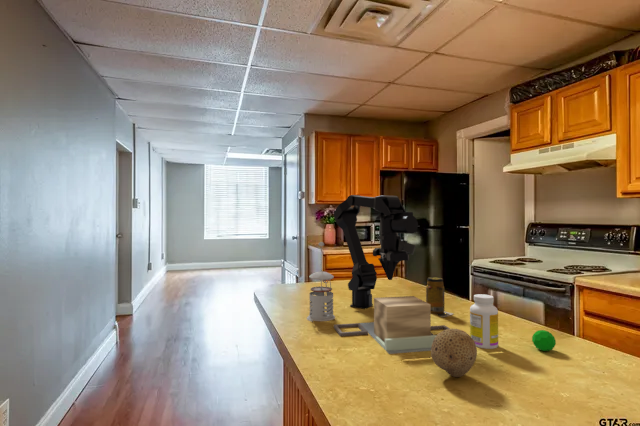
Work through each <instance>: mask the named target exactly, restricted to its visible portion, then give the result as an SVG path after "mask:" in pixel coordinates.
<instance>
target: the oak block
mask: <svg viewBox="0 0 640 426" xmlns="http://www.w3.org/2000/svg"><path fill="white" fill-rule="evenodd" d="M431 314H432V313H431V304H429V303H427V302H426V300H425V301H424V300H422V299H420V298H418V297H416V296H415V295H409V296H408V295H407V296H389V297H387V296H386V297H374V298H373V322H374V334H375V335H376V336H377V337H379V338H380V339H381V340H382V341H383V342H384V343H385V339H388V338H402V337H417V336H431V333H432V332H431V331H432V330H431V326H432V323H431V321H432V320H431V316H432V315H431Z"/></svg>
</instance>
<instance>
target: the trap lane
mask: <svg viewBox="0 0 640 426" xmlns="http://www.w3.org/2000/svg"><path fill="white" fill-rule="evenodd" d="M345 328H347V329H348V328H358V329H359V330H356V331H342V330H341V329H345ZM333 329H334V330H335V332H336V333H337V334H338V335H339V337H349V336H363V335H364V336H366V335H368V334H369V336H370V337H371V338H372V339H374V340H375V342H376V343H377V344H378V345H379V346H380V347H381V348H383V350H385V351H386V353H387V354H388V355H390V354H391V355H393V354H405V353H407V354H408V353H416V352H417V353H420V352H431V346H432V343H433V340H434V338H435V337H436V336H437V335H438V334H435V333H432V332H431V336H417V337H402V338H388V339H385V343H384V342H383V341H382V340H381V339H380V338H379V337H377V336H376V335H375V334H374V321H372V322H355V323H338V324H333ZM446 329H451V328H450V327H448V326H447V325H446V324H443V325H442V324H441V325H431V331H436V330H437V331H438V330H443V331H444V330H446Z"/></svg>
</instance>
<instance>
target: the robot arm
mask: <svg viewBox="0 0 640 426" xmlns="http://www.w3.org/2000/svg"><path fill="white" fill-rule="evenodd" d="M352 206H353V207H352ZM361 207H364V208H365V207H366V208H371V209H374V210H375V211H377V212H379V214H378V215H377V216H376V217H375V220H378V221H379V220H380V221H379V222H380V223H379V224H380V235H378V240H380V247H375V248H374V249H372V257H377V256H379V258H378V257H377V258H378V261H379V263H380V265H381V267H382V269H383V271H384V273H385V276H386V277H387V279H388V280H389V281H392V280H393V278H394V274H395V272H396V271H395V270H396V267H397V265H398V264H399V263H401V262H402V261H403V262H404V261H410V255H414V253H415V249H416V245H415V244H412V243H409V242H408V241H407V240H405V239H402V237H401V235H399V234H411V235H412V234H414V233H416V231H418V227H419V221H418V219H417V218H416V217H415V216H414V212H413V211H406V209H405V207H404V205H403V204H402V202H401V200H400V197H399V196H397V195H378V196H366V195H365V196H364V195H360V194H351V195H348V196H347V197H346V199H345V200H344V201H341V202H340V204H338V206H337V207H336V209H335V210H334V212H333V219H334V221H335V223H336V225H337V226H338V227H339V228H340V229H341V230H342V231H343V235H344V238H345V241H346V245H347V248H348V251H349V255H350V257H351V261H352V264H353V265H352V270H351V278H350V280H349V282H348V283H347V288H348V290H349V291H351V304H350V305H349V307H351V308H357V309H363V310H367V309H368V308H371V307H374V303H373V294H372V290H375V287H376V283H377V281H378V277H377V276H378V275H377V274H378V273H377V271H376V269H375V265H374V263H369V262H368V261H367V258H366V255H365V252H364V249H363V246H362V244H361V243H362V242H361V240H360V236H359V234H358V231H357V227H356V225H357V221H358V218H357V216H358V214H360V210H361Z"/></svg>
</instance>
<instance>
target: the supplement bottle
mask: <svg viewBox="0 0 640 426" xmlns="http://www.w3.org/2000/svg"><path fill="white" fill-rule="evenodd" d="M473 301H474V304H471V305H470V307H469V330H470V331H469V336H470V337H471V338H472V339H473V340H474V342H475V344H476V348H480V349H487V350H488V349H489V350H490V349H491V350H493V349H496V348H497V349H498V347H499V311H498V308H497V307H496V306H495V305H494V301H495V300H494V296H493V295H489V294H486V293H485V294H484V293H483V294H481V293H480V294H479V293H478V294H474V295H473Z"/></svg>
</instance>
